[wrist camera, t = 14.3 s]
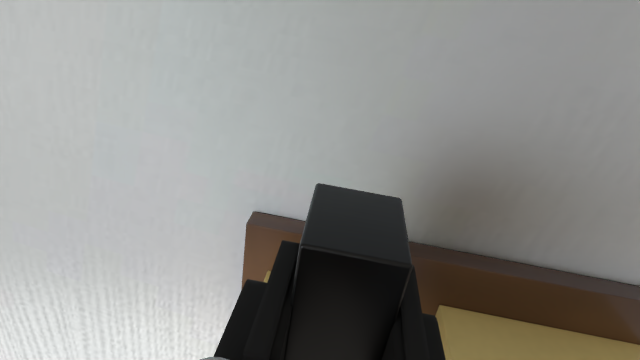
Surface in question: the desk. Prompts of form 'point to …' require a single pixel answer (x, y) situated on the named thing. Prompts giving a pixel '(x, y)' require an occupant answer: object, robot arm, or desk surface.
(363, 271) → the knife
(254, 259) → the cake board
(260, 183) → the desk surface
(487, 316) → the cake
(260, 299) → the robot arm
